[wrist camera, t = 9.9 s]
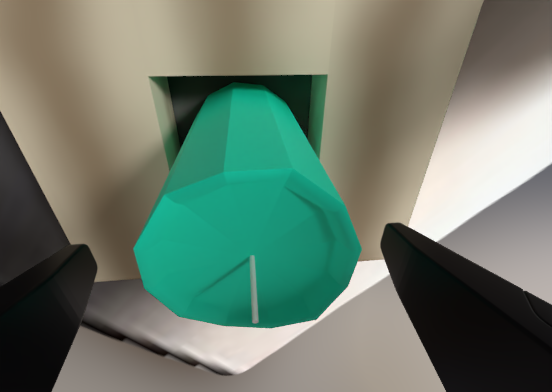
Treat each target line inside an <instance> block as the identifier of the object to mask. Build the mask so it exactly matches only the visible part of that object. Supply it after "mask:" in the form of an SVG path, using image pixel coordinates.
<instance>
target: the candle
mask: <svg viewBox="0 0 552 392" xmlns="http://www.w3.org/2000/svg"><path fill="white" fill-rule="evenodd" d="M133 250H134V253H135V257H136V261H137V264H138V268H139V271H140V275H141V278H142V282H143V285H144V289H145V290H147V291H148V292H149V293H150V294H152V295H153V296H154V297H155V298H156V299H158V300H159V301H160V302H161V303H163V304H164V305H165V306H166V307H168V308H169V309H170V310H171V311H172V312H174V313H175V314H176V315H177V316H179V317H183V318H188V319H193V320H198V321H203V322H207V323H212V324H217V325H222V326H236V327H256V328H275V327H280V326H285V325H291V324H296V323H301V322H306V321H311V320H316V319H317V318H318V317H319V316H320V315H321V314H322V313H323V312H324V311H325V310H326V309H327V308H328V307H329V306H330V304H331V303H332V302H333V301H334V300H335V299H336V298H337V297H338V296H339V295H340V294H341V293H342V292H343V291H344V290H345V289H346V288H347V287H348V284H349V282H350V279H351V277H352V274H353V272H354V269H355V266H356V264H357V261H358V259H359V256H360V254H361V251H362V247H361V245H360V242H359V240H358V237H357V234H356V232H355V229H354V227H353V224H352V222H351V219H350V216H349V214H348V211H347V209H346V206H345V204H344V202H343V201H342V199H341V197H340V195H339V194H338V192H337V190H336V188H335V187H334V185H333V183H332V182H331V180H330V178H329V176H328V175H327V173H326V171H325V169H324V168H323V166H322V164H321V162H320V161H319V159H318V157H317V155H316V154H315V152H314V150H313V149H312V147H311V145H310V143H309V142H308V140H307V138H306V136H305V135H304V133H303V131H302V129H301V128H300V126H299V124H298V123H297V121H296V119H295V117H294V116H293V114H292V112H291V110H290V109H289V107H288V105H287V103H286V102H285V101H284V100H283V99H281V98H280V97H279V96H277V95H276V94H275V93H273V92H272V91H270V90H269V89H268V88H266V87H265V86H264V85H259V84H248V83H236V82H233V83H231V84H229V85H227V86H225V87H223V88H221V89H220V90H218V91H216V92H214V93H212V94H210V95H208V96H207V98H206V100H205V102H204V104H203V105H202V107H201V109H200V111H199V112H198V114H197V116H196V118H195V120H194V122H193V124H192V126H191V128H190V130H189V132H188V134H187V136H186V139H185V141H184V143H183V145H182V147H181V149H180V151H179V153H178V155H177V158H176V160H175V162H174V164H173V166H172V168H171V170H170V172H169V174H168V177H167V179H166V181H165V183H164V185H163V187H162V189H161V191H160V193H159V195H158V198H157V200H156V202H155V204H154V206H153V208H152V210H151V212H150V214H149V217H148V219H147V221H146V223H145V225H144V227H143V229H142V231H141V233H140V236H139V238H138V240H137V242H136V244H135V246H134V248H133Z"/></svg>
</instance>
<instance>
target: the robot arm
mask: <svg viewBox="0 0 552 392" xmlns="http://www.w3.org/2000/svg"><path fill="white" fill-rule="evenodd" d="M380 248H381V251H382V254H383V257H384V259H385V262H386V265H387V268H388V270H389V273H390V276H391V278H392V281H393V284H394V286H395V288H396V291H397V293H398V295H399V298H400V299H401V302H402V304H403V306H404V308H405V310H406V312H407V314H408V316H409V318H410V320H411V322H412V323H413V326H414V328H415V329H416V332H417V334H418V336H419V338H420V340H421V342H422V344H423V346H424V348H425V350H426V352H427V354H428V356H429V358H430V360H431V362H432V364H433V366H434V368H435V370H436V372H437V374H438V376H439V378H440V380H441V382H442V384H443V386H444V388H445V390H446V392H552V305H551V304H549V303H547V302H545V301H544V300H542V299H540V298H538V297H536V296H534V295H533V294H531V293H529V292H527V291H523V289H521V288H520V287H518V286H516V285H514V284H512V283H510V282H509V281H507V280H505V279H503V278H501V277H499V276H498V275H496V274H494V273H492V272H490V271H488V270H486V269H485V268H483V267H481V266H479V265H477V264H476V263H474V262H472V261H470V260H468V259H466V258H464V257H463V256H460V255H459V254H457V253H455V252H453V251H451V250H450V249H448V248H446V247H444V246H442V245H441V244H439V243H437V242H435V241H433V240H431V239H429V238H428V237H426V236H424V235H422V234H420V233H418V232H417V231H415V230H413V229H411V228H409V227H407V226H406V225H404V224H402V223H399V222H395V223H387V224H386V225H385V227H384V231H383V235H382V238H381V242H380ZM97 269H98V266H97V263H96V260H95V258H94V256H93V254H92V252H91V250H90V248H89V246H88V245H86V244H72V245H68V246H66V247H65V248H63V249H62V250H60V251H58V252H57V253H55V254H53V255H52V256H50V257H49V258H47V259H45V260H44V261H42V262H40V263H39V264H37V265H36V266H34V267H32V268H31V269H29V270H27V271H26V272H24V273H23V274H21V275H19V276H18V277H16V278H14V279H13V280H11V281H10V282H8V283H6V284H5V285H3V286H1V287H0V392H52V389H53V387H54V385H55V382H56V380H57V378H58V375H59V373H60V371H61V368H62V366H63V364H64V362H65V359H66V357H67V354H68V352H69V350H70V348H71V345H72V343H73V340H74V338H75V336H76V334H77V331H78V329H79V327H80V324H81V322H82V319H83V316H84V313H85V310H86V306H87V303H88V300H89V297H90V293H91V290H92V287H93V284H94V281H95V277H96V274H97Z"/></svg>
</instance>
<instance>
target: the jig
mask: <svg viewBox="0 0 552 392" xmlns="http://www.w3.org/2000/svg"><path fill="white" fill-rule="evenodd" d="M483 1H484V0H0V111H1V113H2V115H3V117H4V119H5V120H6V122H7V124H8V126H9V128H10V130H11V132H12V134H13V136H14V138H15V139H16V141H17V143H18V145H19V147H20V149H21V151H22V153H23V155H24V156H25V158H26V160H27V162H28V164H29V166H30V168H31V170H32V172H33V174H34V175H35V177H36V179H37V181H38V183H39V185H40V187H41V189H42V191H43V193H44V194H45V196H46V198H47V200H48V202H49V204H50V206H51V208H52V210H53V212H54V213H55V215H56V217H57V219H58V221H59V223H60V225H61V227H62V229H63V230H64V232H65V234H66V236H67V238H68V240H69V242H70V244H71V245H72V244H86V245H88V246H89V248H90V250H91V252H92V254H93V256H94V258H95V260H96V263H97V266H98V269H97V274H96V277H95V281H94V282H102V281H115V280H128V279H140V278H141V275H140V271H139V268H138V264H137V261H136V257H135V253H134V250H133V248H134V246H135V244H136V242H137V240H138V238H139V236H140V233H141V231H142V229H143V227H144V225H145V223H146V221H147V219H148V217H149V214H150V212H151V210H152V208H153V206H154V204H155V202H156V200H157V198H158V195H159V193H160V191H161V189H162V187H163V185H164V183H165V181H166V179H167V177H168V174H169V172H170V170H171V168H172V166H173V164H174V162H175V160H176V158H177V155H178V153H179V151H180V149H181V147H180V142H179V137H178V132H177V126H176V121H175V116H174V111H173V106H172V100H171V95H170V90H169V85H168V80H167V76H228V75H312V83H311V97H310V111H309V126H308V142H309V143H310V145H311V147H312V149H313V150H314V152H315V154H316V155H317V157H318V159H319V161H320V162H321V164H322V166H323V168H324V169H325V171H326V173H327V175H328V176H329V178H330V180H331V182H332V183H333V185H334V187H335V188H336V190H337V192H338V194H339V195H340V197H341V199H342V201H343V202H344V204H345V206H346V209H347V211H348V214H349V216H350V219H351V222H352V224H353V227H354V229H355V232H356V234H357V237H358V240H359V242H360V245H361V247H362V251H361V254H360V256H359V259H358V261H369V260H382V259H384V257H383V254H382V251H381V248H380V242H381V238H382V235H383V231H384V227H385V225H386V224H387V223H395V222H399V223H402V224H404V225H406V226H407V227H408V224H409V221H410V218H411V215H412V212H413V209H414V206H415V203H416V200H417V197H418V194H419V191H420V188H421V185H422V183H423V180H424V177H425V174H426V171H427V168H428V165H429V162H430V159H431V156H432V153H433V150H434V147H435V144H436V141H437V138H438V135H439V132H440V129H441V126H442V123H443V120H444V117H445V114H446V111H447V108H448V105H449V102H450V99H451V96H452V93H453V90H454V87H455V84H456V81H457V78H458V75H459V72H460V69H461V66H462V63H463V61H464V58H465V55H466V52H467V49H468V46H469V43H470V40H471V37H472V34H473V31H474V28H475V25H476V22H477V19H478V16H479V13H480V10H481V7H482V4H483Z"/></svg>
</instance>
